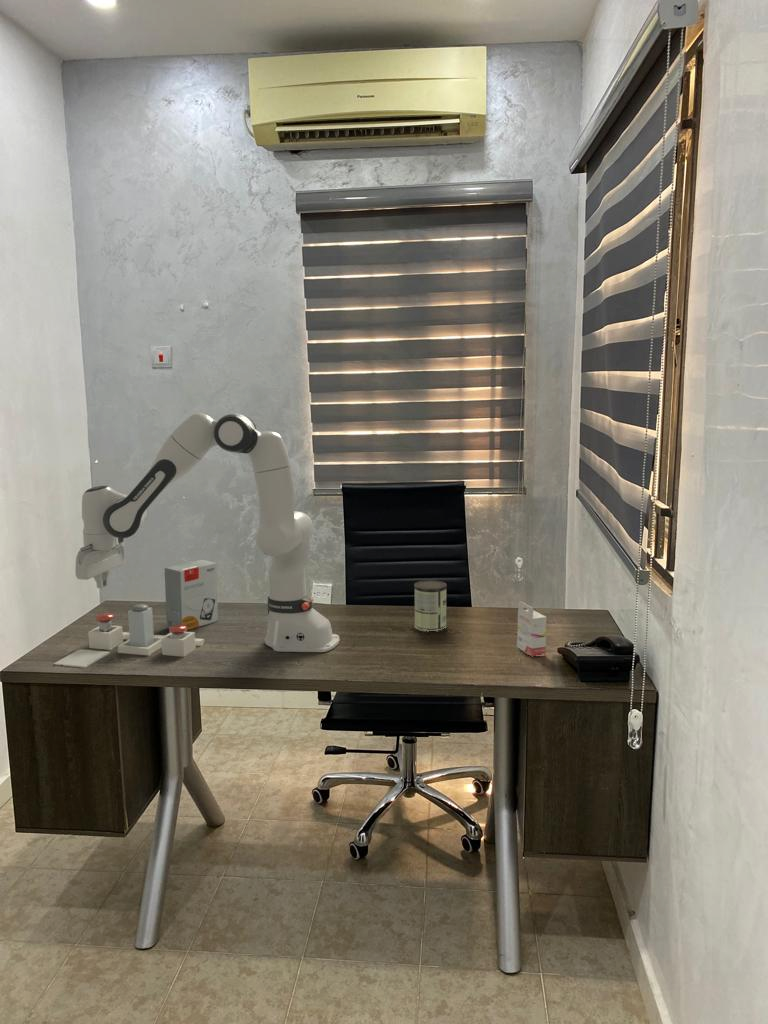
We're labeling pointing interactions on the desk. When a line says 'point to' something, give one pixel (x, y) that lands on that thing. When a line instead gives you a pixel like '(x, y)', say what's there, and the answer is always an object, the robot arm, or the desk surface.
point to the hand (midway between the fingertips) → (102, 586)
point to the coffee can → (430, 605)
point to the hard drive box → (191, 594)
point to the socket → (149, 650)
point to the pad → (82, 658)
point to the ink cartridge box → (531, 630)
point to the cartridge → (141, 626)
